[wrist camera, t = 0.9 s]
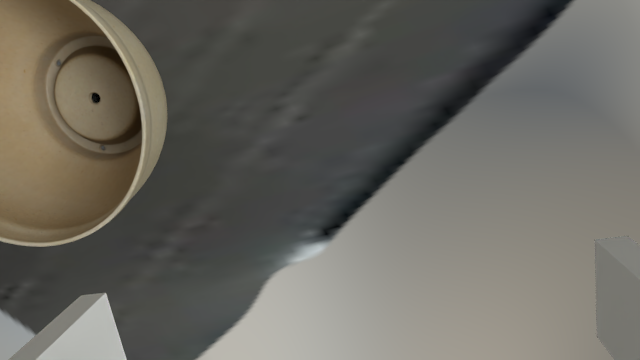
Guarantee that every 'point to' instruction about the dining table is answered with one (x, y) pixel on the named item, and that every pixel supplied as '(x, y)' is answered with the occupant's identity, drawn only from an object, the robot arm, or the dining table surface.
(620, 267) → the robot arm
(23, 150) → the planter bowl
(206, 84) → the dining table surface
